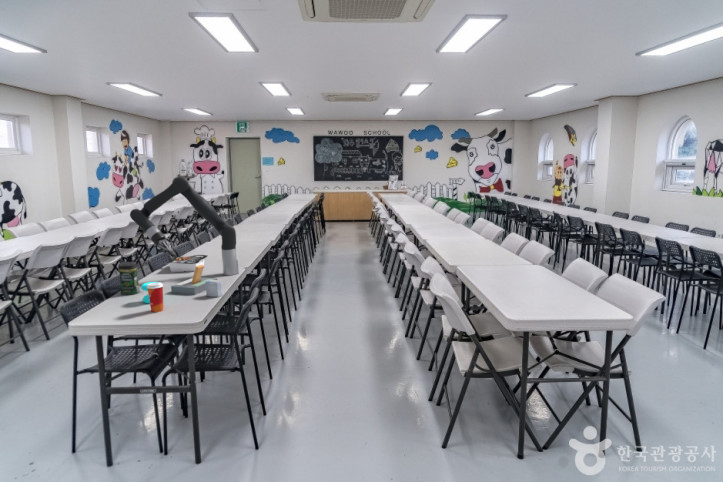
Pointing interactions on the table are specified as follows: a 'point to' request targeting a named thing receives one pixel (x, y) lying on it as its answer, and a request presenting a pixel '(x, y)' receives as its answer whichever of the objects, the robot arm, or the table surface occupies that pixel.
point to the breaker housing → (190, 286)
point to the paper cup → (155, 296)
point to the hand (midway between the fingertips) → (174, 256)
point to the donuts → (144, 287)
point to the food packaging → (186, 263)
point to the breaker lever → (197, 274)
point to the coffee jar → (128, 278)
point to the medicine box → (214, 288)
